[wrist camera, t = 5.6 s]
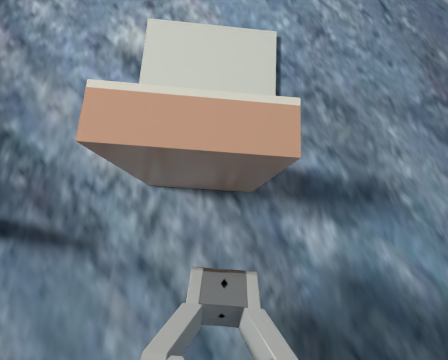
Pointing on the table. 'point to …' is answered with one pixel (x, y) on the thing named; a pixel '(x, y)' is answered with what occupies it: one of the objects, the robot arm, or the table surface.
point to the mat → (209, 57)
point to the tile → (191, 134)
